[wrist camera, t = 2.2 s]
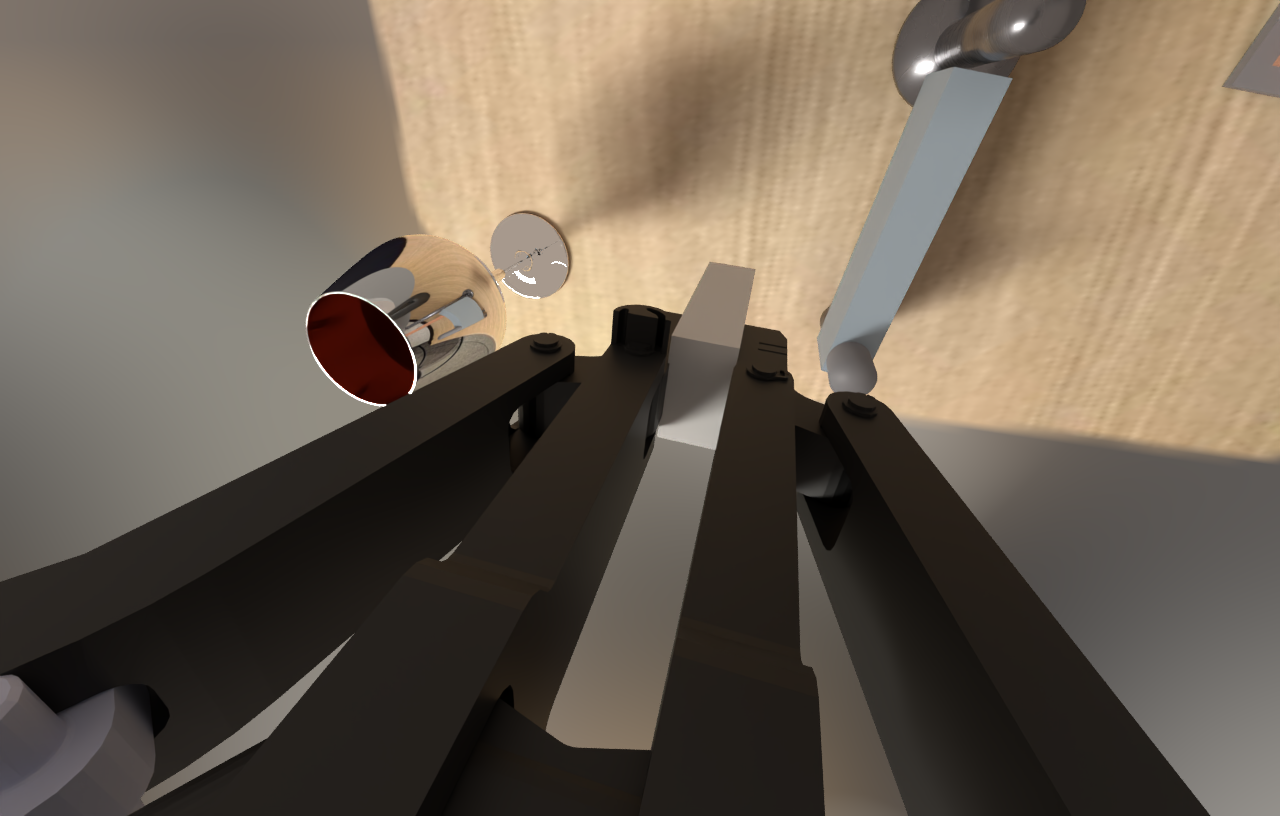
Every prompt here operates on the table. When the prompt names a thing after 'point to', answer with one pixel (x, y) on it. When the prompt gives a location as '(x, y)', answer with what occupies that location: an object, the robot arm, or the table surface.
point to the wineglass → (428, 307)
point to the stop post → (1260, 62)
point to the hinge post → (976, 36)
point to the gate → (905, 219)
